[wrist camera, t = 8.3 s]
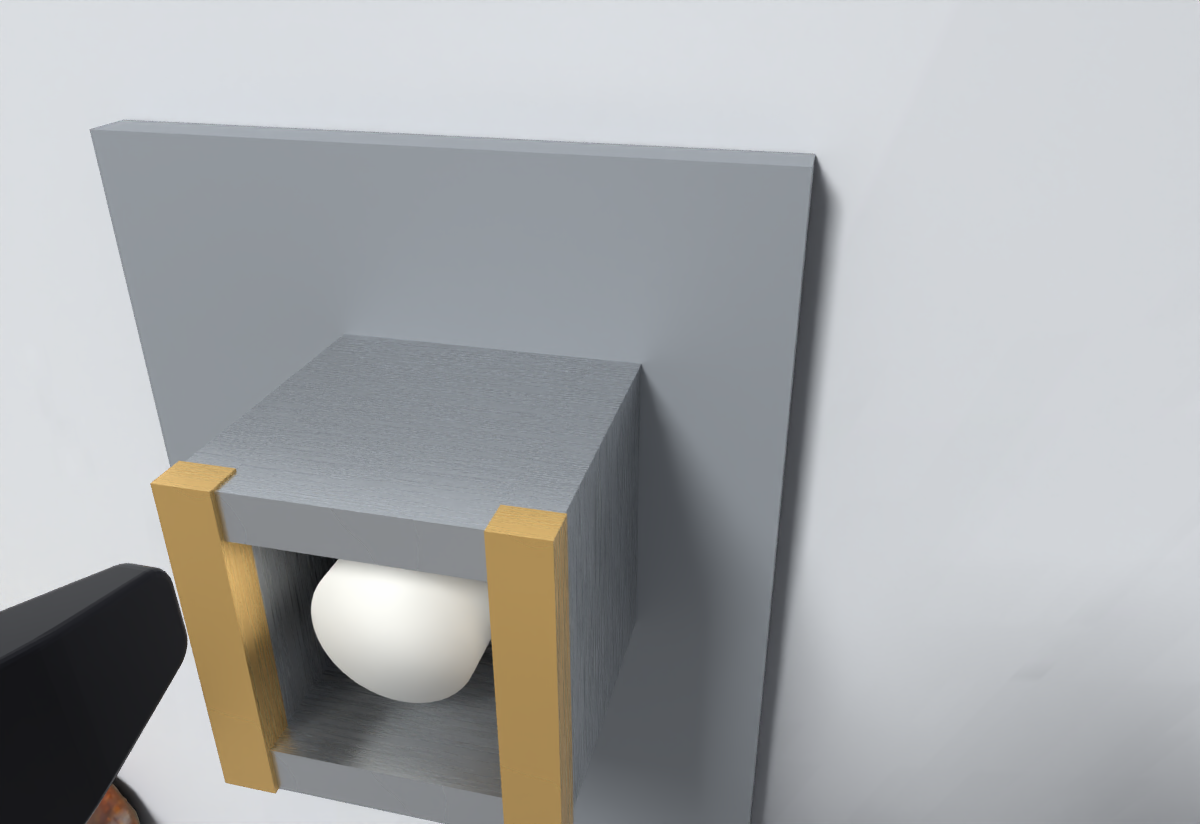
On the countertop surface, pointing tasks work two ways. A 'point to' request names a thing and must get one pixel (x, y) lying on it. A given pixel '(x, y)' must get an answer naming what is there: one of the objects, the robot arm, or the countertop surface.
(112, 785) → the sauce bottle
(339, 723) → the open cube shelf
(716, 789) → the panel
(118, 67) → the countertop surface
